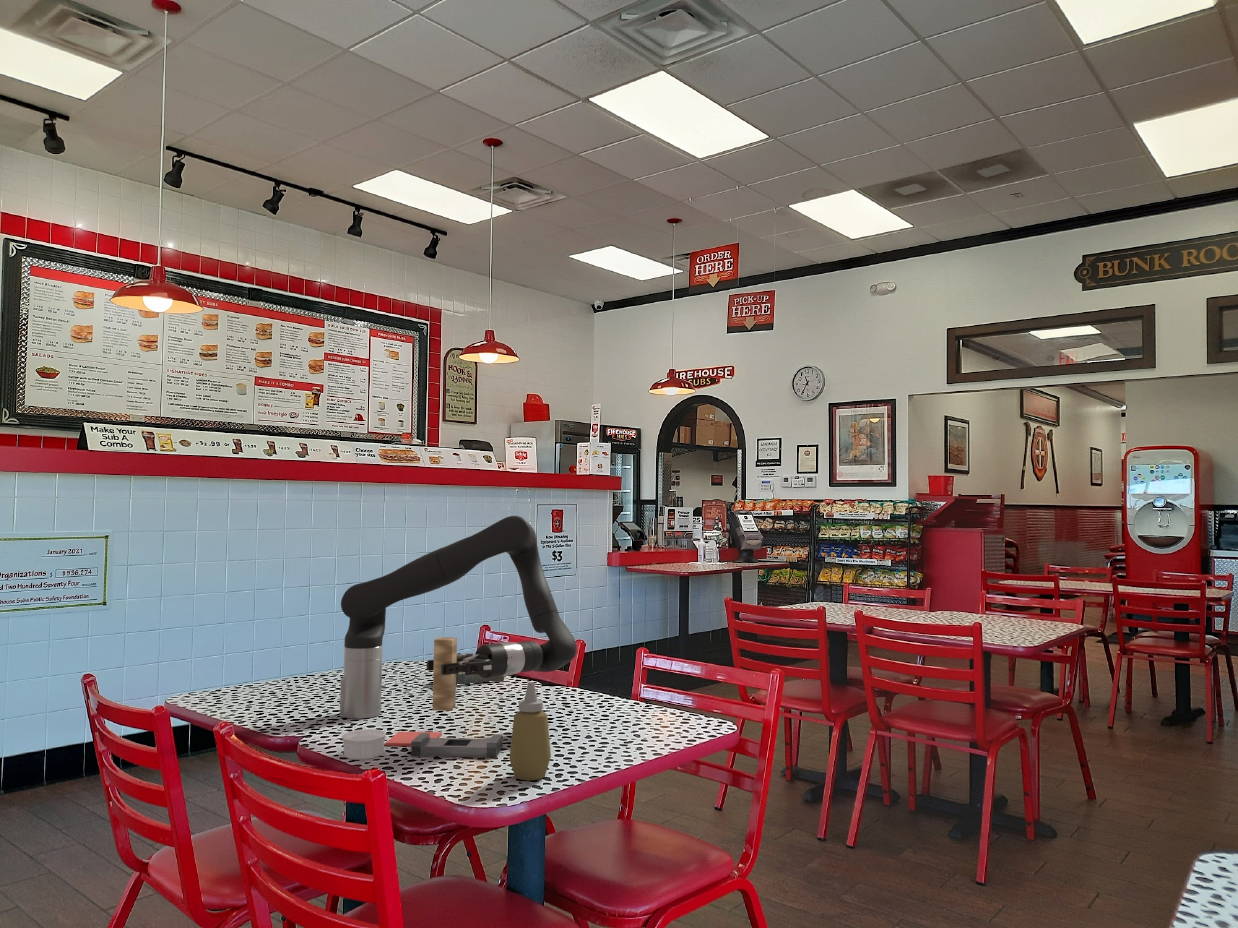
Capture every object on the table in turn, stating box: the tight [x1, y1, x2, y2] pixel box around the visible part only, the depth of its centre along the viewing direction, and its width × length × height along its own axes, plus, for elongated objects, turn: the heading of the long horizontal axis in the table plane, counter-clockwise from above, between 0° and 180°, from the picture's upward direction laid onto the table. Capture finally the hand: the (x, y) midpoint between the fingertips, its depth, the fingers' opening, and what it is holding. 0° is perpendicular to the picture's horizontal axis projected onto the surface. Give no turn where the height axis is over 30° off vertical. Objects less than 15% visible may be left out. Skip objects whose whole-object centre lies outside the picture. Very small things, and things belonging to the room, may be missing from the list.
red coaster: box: [384, 731, 443, 747], centre depth 191 cm, size 10×10×1 cm
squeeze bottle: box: [509, 681, 552, 781], centre depth 165 cm, size 8×8×18 cm
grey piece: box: [410, 733, 503, 758], centre depth 181 cm, size 18×7×3 cm, turn 87°
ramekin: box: [341, 728, 387, 761], centre depth 179 cm, size 9×9×4 cm
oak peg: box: [432, 636, 458, 712], centre depth 184 cm, size 4×4×15 cm
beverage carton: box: [456, 673, 505, 685], centre depth 258 cm, size 8×19×7 cm, turn 120°
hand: (434, 667), depth 183 cm, fingers closed on oak peg, 5 cm apart
